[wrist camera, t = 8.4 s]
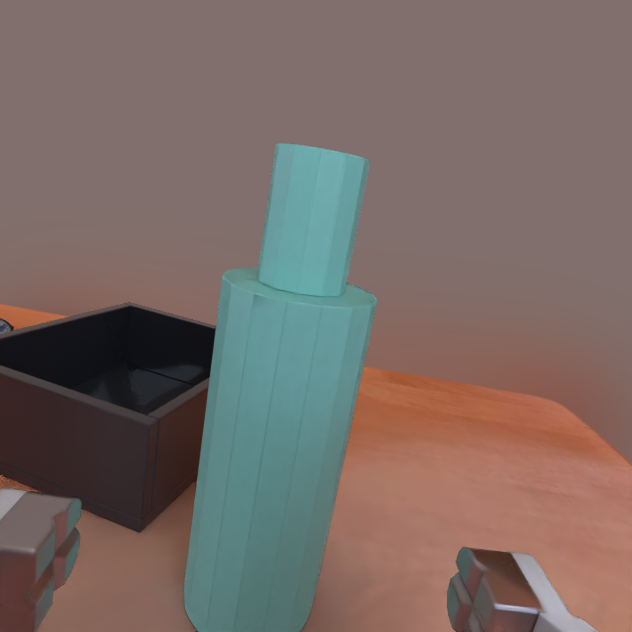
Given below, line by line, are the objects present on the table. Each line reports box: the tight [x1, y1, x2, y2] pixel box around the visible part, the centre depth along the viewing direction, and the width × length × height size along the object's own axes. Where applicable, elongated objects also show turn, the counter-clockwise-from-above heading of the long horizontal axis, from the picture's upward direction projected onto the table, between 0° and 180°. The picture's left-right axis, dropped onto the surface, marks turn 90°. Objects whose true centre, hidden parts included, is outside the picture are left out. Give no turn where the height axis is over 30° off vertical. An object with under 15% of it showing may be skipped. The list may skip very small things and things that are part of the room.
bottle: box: [184, 143, 377, 632], centre depth 20 cm, size 6×6×20 cm
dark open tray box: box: [0, 302, 216, 532], centre depth 34 cm, size 17×15×6 cm
